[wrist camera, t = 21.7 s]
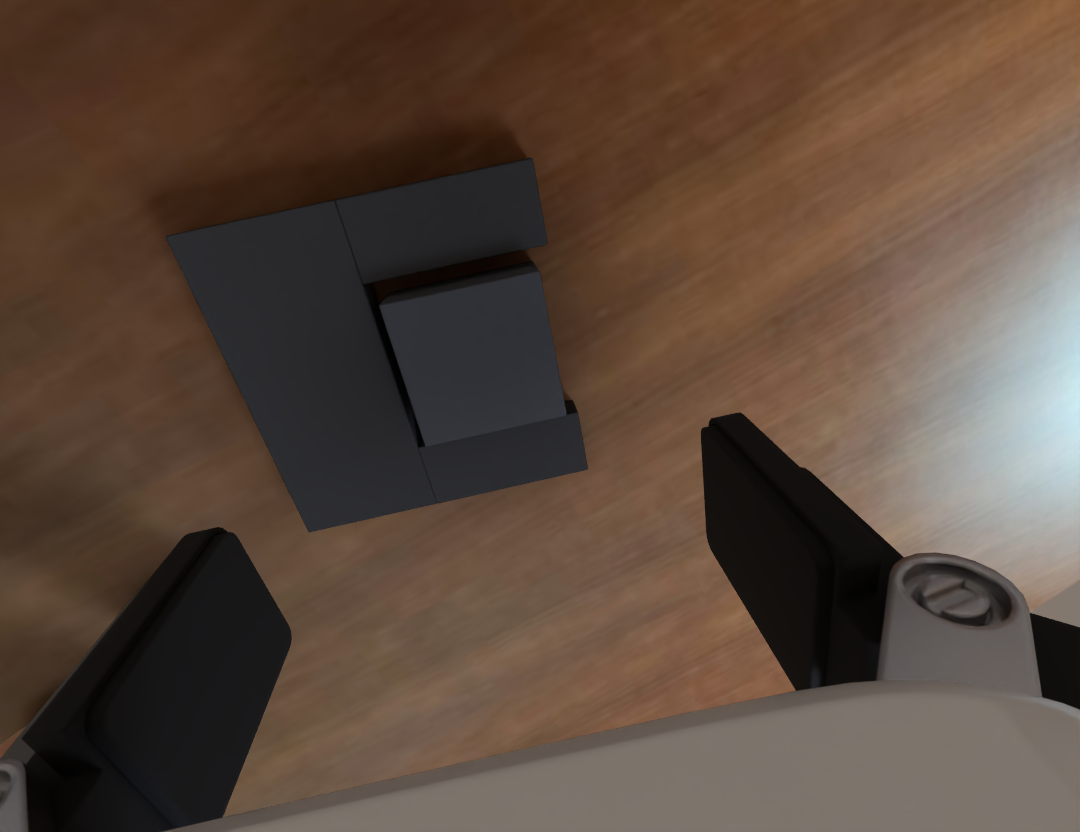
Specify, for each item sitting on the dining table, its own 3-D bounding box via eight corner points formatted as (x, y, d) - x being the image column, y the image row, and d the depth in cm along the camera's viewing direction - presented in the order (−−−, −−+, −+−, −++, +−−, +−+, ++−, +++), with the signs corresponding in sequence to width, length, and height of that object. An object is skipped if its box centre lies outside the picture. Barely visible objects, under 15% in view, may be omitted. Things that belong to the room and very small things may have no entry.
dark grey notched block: (184, 232, 20) (163, 236, 19) (529, 158, 21) (532, 157, 19) (316, 515, 26) (308, 533, 25) (582, 455, 27) (588, 469, 25)
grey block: (388, 292, 22) (378, 305, 20) (533, 260, 22) (539, 270, 20) (430, 422, 25) (425, 447, 23) (558, 393, 25) (567, 416, 23)
